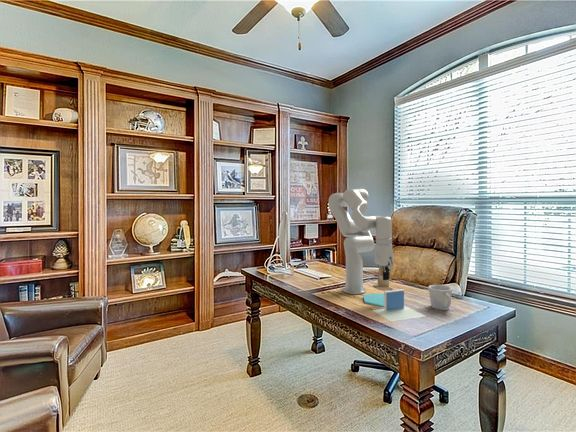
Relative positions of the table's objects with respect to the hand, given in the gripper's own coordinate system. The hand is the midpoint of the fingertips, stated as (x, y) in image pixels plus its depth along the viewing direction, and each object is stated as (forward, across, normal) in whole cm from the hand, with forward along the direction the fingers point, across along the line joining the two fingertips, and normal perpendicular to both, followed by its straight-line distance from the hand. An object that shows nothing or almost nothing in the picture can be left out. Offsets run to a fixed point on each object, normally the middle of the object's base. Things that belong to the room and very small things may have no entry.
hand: (384, 278), depth 159 cm
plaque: (+14, -6, +2) cm, 15 cm away
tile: (+13, +8, 0) cm, 15 cm away
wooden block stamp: (+5, 0, -1) cm, 5 cm away
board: (+13, +12, -1) cm, 18 cm away
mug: (+14, +14, +22) cm, 29 cm away
